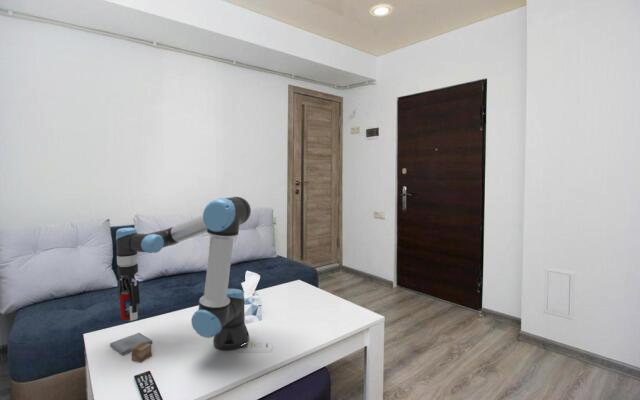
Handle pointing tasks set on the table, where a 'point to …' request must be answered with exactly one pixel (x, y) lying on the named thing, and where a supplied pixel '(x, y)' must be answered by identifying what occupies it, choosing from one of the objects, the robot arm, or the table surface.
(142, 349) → the walnut block
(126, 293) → the beverage can
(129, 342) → the coaster
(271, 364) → the table surface
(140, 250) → the robot arm
